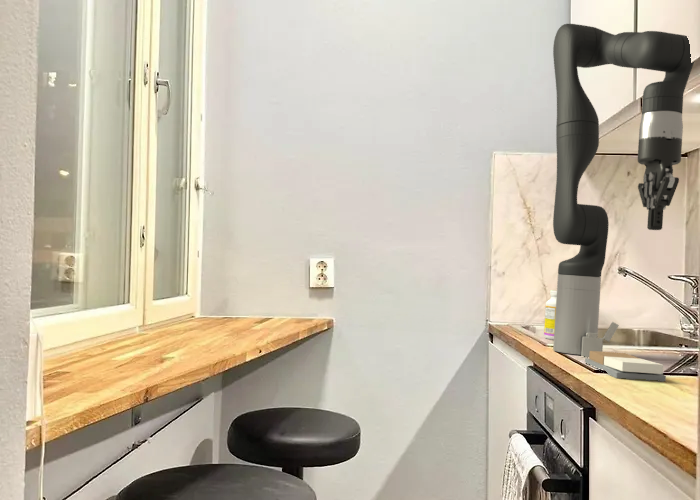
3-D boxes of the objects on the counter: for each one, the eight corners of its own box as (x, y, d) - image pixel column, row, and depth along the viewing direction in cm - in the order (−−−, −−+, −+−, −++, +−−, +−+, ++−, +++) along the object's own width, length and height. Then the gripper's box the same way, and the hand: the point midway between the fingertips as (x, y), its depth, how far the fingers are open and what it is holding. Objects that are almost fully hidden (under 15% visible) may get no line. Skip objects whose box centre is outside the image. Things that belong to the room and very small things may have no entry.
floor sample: (584, 363, 137) (585, 350, 137) (627, 366, 137) (628, 353, 137) (616, 378, 120) (617, 363, 120) (665, 381, 120) (666, 366, 120)
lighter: (581, 357, 147) (583, 319, 147) (581, 356, 149) (583, 319, 149) (616, 360, 145) (619, 322, 145) (616, 359, 147) (618, 322, 147)
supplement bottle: (569, 339, 184) (572, 291, 184) (570, 341, 178) (573, 292, 178) (543, 336, 186) (546, 289, 186) (543, 339, 179) (546, 290, 180)
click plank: (603, 364, 128) (604, 356, 128) (641, 367, 128) (641, 358, 128) (622, 371, 119) (622, 362, 119) (662, 374, 119) (663, 364, 119)
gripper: (626, 143, 137) (621, 230, 137) (655, 130, 124) (649, 227, 123) (664, 145, 137) (659, 232, 137) (697, 133, 124) (691, 229, 123)
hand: (654, 229), depth 130 cm, fingers closed
